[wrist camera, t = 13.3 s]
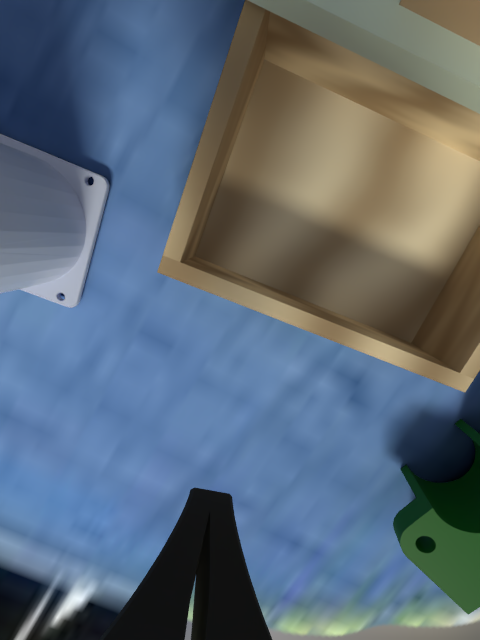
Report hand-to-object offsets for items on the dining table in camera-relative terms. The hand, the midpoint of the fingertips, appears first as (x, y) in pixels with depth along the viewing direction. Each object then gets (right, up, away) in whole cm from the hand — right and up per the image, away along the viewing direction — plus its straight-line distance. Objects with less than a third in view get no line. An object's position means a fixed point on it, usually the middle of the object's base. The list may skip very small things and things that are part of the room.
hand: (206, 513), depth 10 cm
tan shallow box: (+8, +15, +7) cm, 18 cm away
